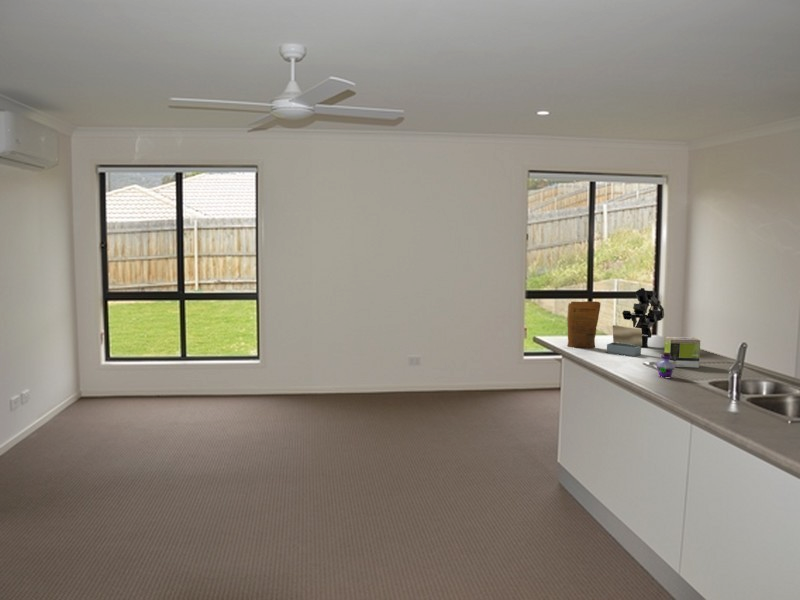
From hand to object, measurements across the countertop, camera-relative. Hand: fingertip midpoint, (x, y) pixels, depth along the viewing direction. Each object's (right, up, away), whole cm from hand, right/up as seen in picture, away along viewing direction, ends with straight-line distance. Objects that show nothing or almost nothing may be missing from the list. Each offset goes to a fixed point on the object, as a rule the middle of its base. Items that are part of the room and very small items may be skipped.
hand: (635, 327), depth 373 cm
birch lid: (-8, -4, -9) cm, 13 cm away
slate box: (-11, -15, -11) cm, 21 cm away
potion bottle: (-11, -21, -68) cm, 72 cm away
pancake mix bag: (-30, -12, +6) cm, 33 cm away
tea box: (+9, -19, -40) cm, 45 cm away
